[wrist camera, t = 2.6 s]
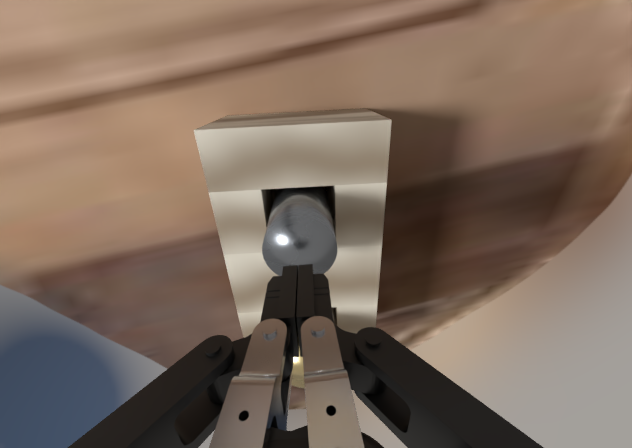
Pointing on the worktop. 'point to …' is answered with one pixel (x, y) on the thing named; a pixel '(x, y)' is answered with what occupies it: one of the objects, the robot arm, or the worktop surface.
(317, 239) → the steel peg
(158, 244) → the worktop surface
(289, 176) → the ash socket block
